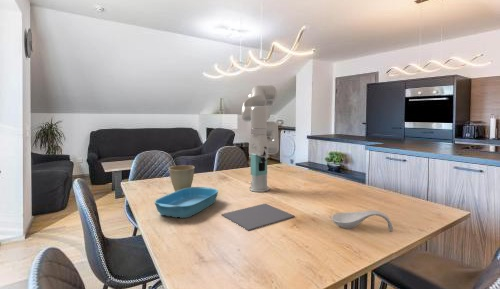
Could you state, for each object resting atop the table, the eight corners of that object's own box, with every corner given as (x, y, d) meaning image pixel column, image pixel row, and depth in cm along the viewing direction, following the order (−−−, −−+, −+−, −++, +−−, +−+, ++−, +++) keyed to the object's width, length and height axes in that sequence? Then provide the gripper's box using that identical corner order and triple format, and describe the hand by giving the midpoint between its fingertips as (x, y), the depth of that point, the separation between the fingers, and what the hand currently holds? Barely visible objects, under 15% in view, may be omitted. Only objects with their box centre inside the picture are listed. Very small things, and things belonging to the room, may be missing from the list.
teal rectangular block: (250, 174, 138) (250, 153, 137) (262, 173, 142) (262, 152, 141) (255, 176, 135) (255, 154, 134) (267, 174, 139) (267, 153, 138)
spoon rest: (331, 230, 117) (331, 213, 116) (331, 219, 128) (331, 204, 127) (395, 236, 111) (395, 218, 110) (388, 224, 122) (389, 208, 121)
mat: (221, 215, 134) (221, 214, 134) (265, 204, 149) (265, 203, 149) (248, 231, 116) (248, 229, 116) (294, 217, 131) (294, 215, 131)
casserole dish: (190, 196, 166) (189, 184, 166) (224, 200, 158) (224, 187, 157) (145, 218, 132) (144, 203, 132) (186, 224, 124) (186, 208, 123)
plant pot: (164, 196, 165) (163, 169, 163) (177, 189, 179) (176, 164, 178) (188, 198, 162) (187, 170, 160) (199, 191, 176) (198, 165, 174)
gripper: (242, 131, 141) (242, 168, 143) (263, 133, 128) (263, 173, 129) (254, 131, 146) (254, 167, 147) (276, 132, 132) (276, 171, 134)
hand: (258, 169), depth 138 cm, fingers closed on teal rectangular block, 4 cm apart
